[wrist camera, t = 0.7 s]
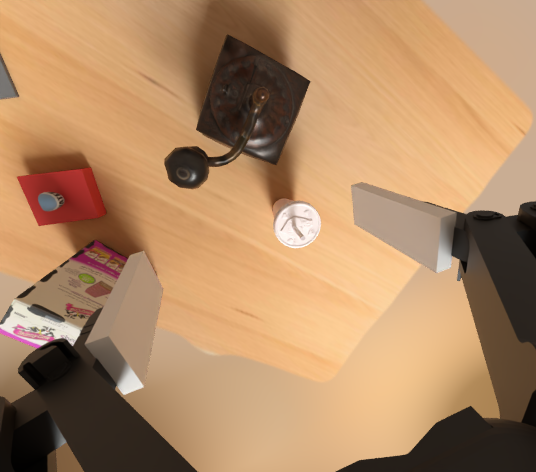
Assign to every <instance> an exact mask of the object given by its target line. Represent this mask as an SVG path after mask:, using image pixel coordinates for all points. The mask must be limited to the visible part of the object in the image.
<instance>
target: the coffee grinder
mask: <svg viewBox="0 0 536 472" xmlns="http://www.w3.org/2000/svg"><path fill="white" fill-rule="evenodd" d="M309 84H310V81H309V80H307V79H306V78H304V77H303V76H301V75H300V74H298V73H297V72H295V71H293V70H291V69H289V68H287V67H285V66H284V65H282V64H280V63H278V62H277V61H275V60H273V59H271V58H270V57H268V56H266V55H264V54H263V53H261V52H259V51H257V50H256V49H254V48H252V47H250V46H248V45H247V44H245V43H243V42H241V41H239V40H237V39H235V38H233V37H232V36H230V35H227V36H226V38H225V41H224V44H223V46H222V49H221V52H220V54H219V57H218V60H217V63H216V66H215V69H214V72H213V75H212V78H211V81H210V84H209V87H208V90H207V93H206V97H205V100H204V103H203V106H202V109H201V112H200V116H199V120H198V124H197V128H196V130H197V131H199V132H201V133H202V134H203V135H204V136H206V137H208V138H210V139H212V140H214V141H216V142H218V143H220V144H222V145H224V146H226V147H228V148H231V151H230V152H229V153H227V154H225V155H223V156H219V157H208V156H207V154H206V153H205V152H204V151H203V150H202V149H200V148H199V147H197V146H192V147H180V148H175V149H174V150H173V151H172V152H171V153H170V154H169V155H168V156H167V157H166V158H165V163H164V164H165V167H166V170H167V174H168V179H169V180H170V181H171V182H173V183H174V184H176V185H177V186H178V187H180V188H187V189H196V188H199V187H200V186H201V185H202V184H203V183H204V182H205V181H206V180H207V178H208V174H209V167H219V166H223V165H226V164H228V163H230V162H232V161H233V160H235V159H236V158H237V157H238V156H239V155H240V154H241V153H242V154H244V155H247V156H250V157H253V158H256V159H259V160H262V161H265V162H269V163H272V164H275V165H276V164H277V162H278V160H279V158H280V155H281V153H282V151H283V148H284V146H285V144H286V141H287V139H288V137H289V134H290V132H291V130H292V128H293V125H294V123H295V121H296V118H297V116H298V113H299V111H300V108H301V105H302V102H303V100H304V97H305V94H306V91H307V89H308V86H309Z"/></svg>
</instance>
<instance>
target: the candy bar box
mask: <svg viewBox="0 0 536 472" xmlns="http://www.w3.org/2000/svg"><path fill="white" fill-rule="evenodd" d="M127 260H128V259H127V258H126V257H124V256H122V255H120V254H119V253H117V252H115V251H113V250H112V249H110V248H108V247H107V246H105V245H103V244H101V243H100V242H98V241H96V240H94V241H93V242H91V243H90V244H88V245H87V246H86V247H85V248H83V249H82V250H80V251H79V252H78V253H76V254H75V255H74V256H72V257H71V258H69V259H68V260H67V261H65V262H64V263H63V264H62V265H60V266H59V267H57V268H56V269H54V270H53V271H52V272H50V273H49V274H48V275H46V276H45V277H43V278H42V279H41V280H40V281H38V282H37V283H36V284H34V285H33V286H32V287H30V288H28V289H27V290H26V291H24V292H23V293H22V294H20V295H19V296H18V297H17V298H15V299H14V301H13V302H12V304H11V306H10V307H9V309H8V311H7V312H6V314H5V316H4V317H3V319H2V320H1V322H0V334H2V335H5V336H7V337H10V338H12V339H15V340H17V341H20V342H23V343H25V344H27V345H30V346H32V347H35V348H39V347H41V346H42V345H44V344H46V343H47V342H50V341H52V340H55V339H59V338H64V339H67V340H68V341H69V343H70V344H71V345H72V346H73V345H74V343H75V341H76V340H77V338H78V336H80V335H79V334H80V332H81V331H82V329H83V328H84V325H85V323H86V322H87V320H88V318H89V317H90V316H91V315H92V314H93V313H94V312H95V311H96V310H97V309H99V308H102V307H104V305H105V303H106V301H107V299H108V297H109V295H110V293H111V291H112V290H113V288H114V286H115V284H116V282H117V280H118V278H119V276H120V274H121V272H122V270H123V268H124V266H125V264H126V262H127Z"/></svg>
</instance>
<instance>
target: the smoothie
mask: <svg viewBox="0 0 536 472" xmlns="http://www.w3.org/2000/svg"><path fill="white" fill-rule="evenodd" d="M273 215H274V223H273V227H274V232H275V235H276V237H277V238H278V239H279V241H280V242H281V243H283V244H284V245H286V246H288V247H291V248H300V247H304V246H306V245H308V244H310V243H311V242H312V241H313V240H314V239H315V238H316V237H317V235H318V233H319V231H320V227H321V219H320V216H319V214H318V212H317V211H316V209H315V208H314V207H313V206H312V205H310V204H309V203H306V202H304V201H293V200H289V199H286V198H282V199H279V200H277V201H276V202H275V204H274V206H273Z"/></svg>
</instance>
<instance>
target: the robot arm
mask: <svg viewBox="0 0 536 472" xmlns="http://www.w3.org/2000/svg"><path fill="white" fill-rule="evenodd" d="M351 188H352V201H353V213H354V224H355V225H357V226H358V227H360V228H362V229H363V230H365V231H367V232H369V233H370V234H372V235H374V236H375V237H377V238H379V239H380V240H382V241H384V242H385V243H387V244H389V245H390V246H392V247H394V248H395V249H397V250H399V251H400V252H402V253H404V254H405V255H407V256H409V257H410V258H412V259H414V260H415V261H417V262H419V263H420V264H422V265H424V266H425V267H427V268H429V269H430V270H432V271H434V272H435V273H438V272H441V271H443V270H446V269H448V268H451V260H452V256H453V257H456V258H458V259H460V262H459V269H458V278H457V281H460V279H461V278H462V280H463V283H464V287H465V291H466V294H467V298H468V301H469V304H470V308H471V312H472V315H473V318H474V322H475V325H476V329H477V332H478V335H479V339H480V343H481V346H482V350H483V353H484V357H485V360H486V364H487V367H488V370H489V374H490V378H491V381H492V384H493V388H494V392H495V395H496V399H497V402H498V406H499V411H500V419H498V418H482V417H481V416H480V415H479V414H478V413H477V412H476V411H475V410H474V409H473V408H472V407H471V406H470V407H468V408H466V409H463V410H461V411H460V412H457V413H455V414H453V415H451V416H449V417H447V418H445V419H443V420H441V421H439V422H437V423H436V424H435V425H434V426H433V427H432V428H431V429H430V430H429V431H428V433H427V434H426V435H425V436H424V437H423V438H422V439H421V440H420V441H419V443H418V444H417V445H416V446H415V447H414V448H413V449H412V450H411V452H409V453H408V454H406V455H401V456H393V457H384V458H375V459H366V460H359V461H357V462H355V463H353V464H351V465H349V466H346V467H344V468H342V469H340V470H338V471H336V472H536V202H527V203H524V204H522V205H520V208H519V213H518V215H514V216H508V217H505V216H504V215H503V214H500V213H497V212H493V211H473V212H469V213H468V214H464V213H460V212H457V211H454V210H451V209H448V208H443V207H441V206H438V205H437V206H436V205H435V204H432V203H429V202H423V201H419V200H416V199H413V198H410V197H407V196H403V195H400V194H397V193H394V192H391V191H388V190H385V189H382V188H378V187H375V186H372V185H369V184H366V183H363V182H361V183H358V184H355V185H351ZM162 293H163V287H162V285H161V283H160V281H159V279H158V277H157V275H156V273H155V272H154V270H153V268H152V266H151V264H150V262H149V260H148V258H147V256H146V254H145V252H144V251H141V252H138V253H135V254H132V255H130V256H129V258H128V260H127V262H126V264H125V266H124V268H123V270H122V272H121V274H120V276H119V278H118V280H117V282H116V284H115V286H114V288H113V290H112V291H111V293H110V295H109V297H108V299H107V301H106V303H105V305H104V307H102V308H99V309H97V310H96V311H95V312H94V313H93V314H92V315H91V316H90V317H89V318H88V320H87V322H86V323H85V325H84V328H83V329H82V331H81V332H80V334H79V335H80V336H78V338H77V340H76V341H75V343H74V345H73V346H72V345H71V344H70V343H69V341H68V340H67V339H64V338H59V339H55V340H52V341H50V342H47V343H46V344H44V345H42V346H41V347H39V348H37V349H36V350H35V351H33V352H32V353H31V354H29V355H28V356H27V357H26V359H25V360H24V361H23V362H22V363H21V365H20V366H19V368H18V373H19V374H20V375H21V376H22V377H23V378H24V379H25V380H26V381H27V382H28V383H29V384H30V385H31V386H32V387H33V388H34V389H35V390H34V391H32V392H30V393H28V394H27V395H25V396H23V397H21V398H20V399H18V400H16V401H15V402H13V403H10V402H9V401H8V400H6V399H5V398H4V397H0V472H57V464H56V449H57V448H59V447H60V446H62V445H63V444H64V443H66V442H67V443H68V445H69V447H70V448H71V450H72V452H73V454H74V455H75V457H76V458H77V460H78V462H79V463H80V465H81V467H82V469H83V470H84V472H197V471H196V470H195V469H194V468H193V467H192V466H191V465H190V464H189V463H188V462H187V461H186V460H185V459H184V458H183V457H182V456H181V455H180V454H179V453H178V452H177V451H176V450H175V449H174V448H173V447H172V446H171V445H170V444H169V443H168V442H167V441H166V440H165V439H164V438H163V437H162V436H161V435H160V434H159V433H158V432H157V431H156V430H155V429H154V428H153V427H152V426H151V425H150V424H149V423H148V422H147V421H146V420H145V419H144V418H143V417H142V416H141V415H140V414H139V413H138V412H136V410H134V408H133V407H132V406H131V405H130V404H129V403H128V402H126V401H125V400H124V399H123V398H122V397H121V396H120V395H119V394H118V393H117V392H116V391H115V387H116V386H117V387H118V388H119V389H120V391H121V392H122V393H123V394H124V395H125V394H127V393H130V392H132V391H135V390H137V389H140V388H143V387H144V386H145V380H146V375H147V370H148V365H149V360H150V355H151V349H152V344H153V339H154V334H155V329H156V324H157V319H158V314H159V309H160V304H161V298H162Z"/></svg>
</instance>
